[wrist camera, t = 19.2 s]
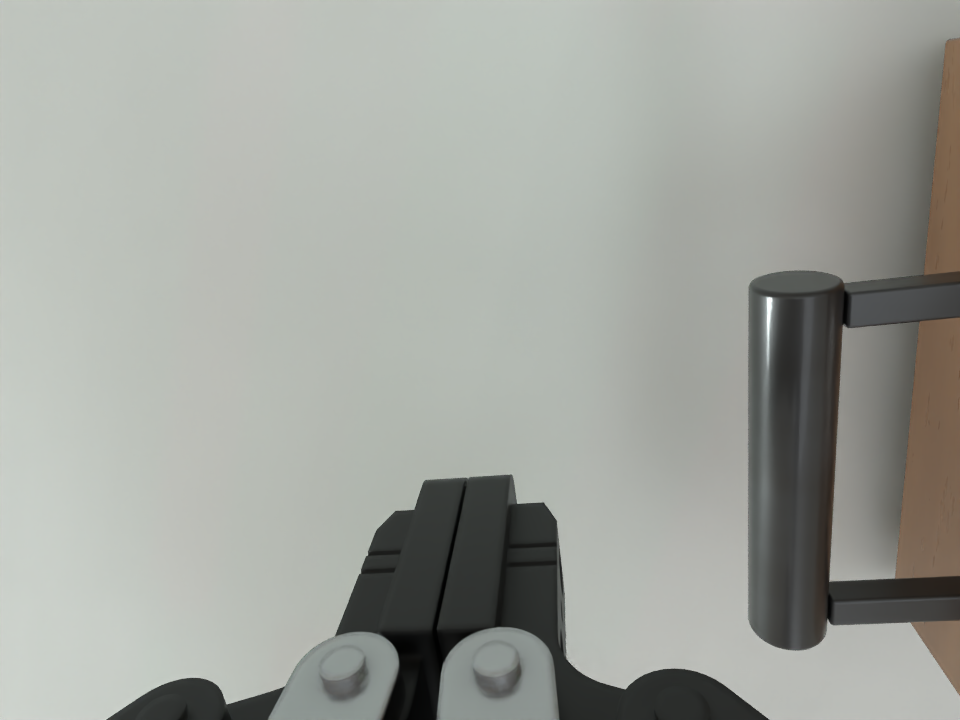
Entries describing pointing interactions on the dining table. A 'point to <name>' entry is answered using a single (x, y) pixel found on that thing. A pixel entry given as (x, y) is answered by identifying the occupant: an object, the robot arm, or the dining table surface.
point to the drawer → (813, 434)
